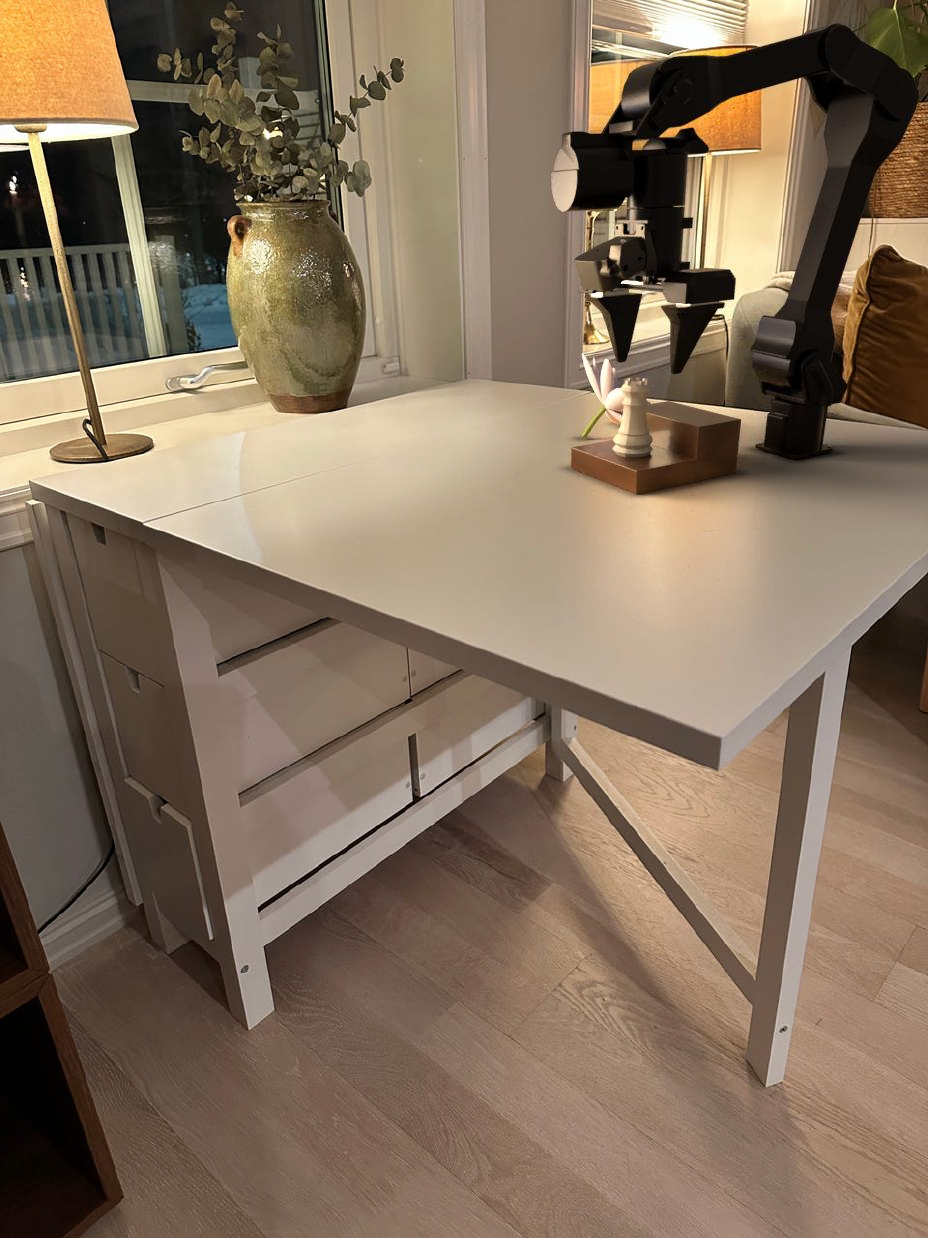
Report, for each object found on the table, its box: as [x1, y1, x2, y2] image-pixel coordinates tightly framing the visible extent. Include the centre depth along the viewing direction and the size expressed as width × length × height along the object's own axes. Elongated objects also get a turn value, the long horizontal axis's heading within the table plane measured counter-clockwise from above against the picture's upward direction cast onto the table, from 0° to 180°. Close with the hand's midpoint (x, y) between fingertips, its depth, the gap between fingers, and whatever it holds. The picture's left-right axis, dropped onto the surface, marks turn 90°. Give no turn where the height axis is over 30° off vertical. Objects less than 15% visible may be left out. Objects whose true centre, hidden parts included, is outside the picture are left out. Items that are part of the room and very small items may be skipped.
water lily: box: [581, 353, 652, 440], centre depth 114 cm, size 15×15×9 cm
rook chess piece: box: [612, 377, 653, 457], centre depth 97 cm, size 4×4×8 cm
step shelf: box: [570, 400, 742, 495], centre depth 99 cm, size 14×12×6 cm
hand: (647, 367), depth 95 cm, fingers open, 9 cm apart
